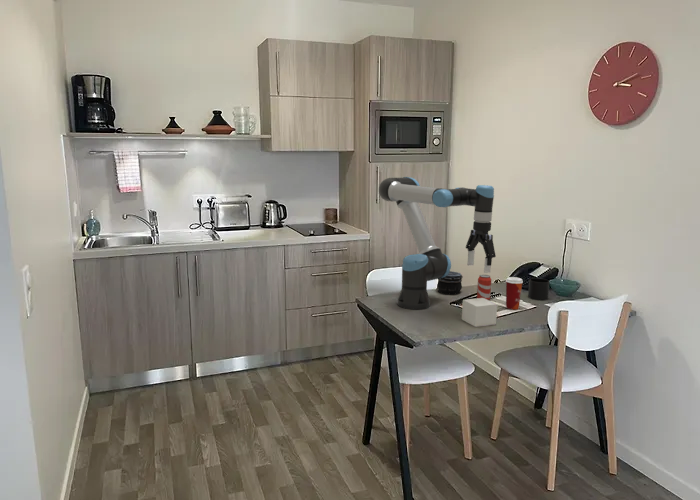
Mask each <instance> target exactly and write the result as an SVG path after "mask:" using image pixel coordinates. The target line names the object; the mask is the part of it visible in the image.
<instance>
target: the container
mask: <svg viewBox="0 0 700 500" xmlns="http://www.w3.org/2000/svg"><path fill="white" fill-rule="evenodd" d="M463 277H464V276H463V274H461V272H459V271H458V272H457V271H451V270H450V272H449V274H448V275H447V276H445V277H443V278H441V279H437V284H436V287H437V289H438V290H437V291H438V293H439V294H443V295H451V296H455V295H459V294H461V291H462V289H463V286H462V282H463Z"/></svg>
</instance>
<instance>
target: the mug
mask: <svg viewBox="0 0 700 500" xmlns="http://www.w3.org/2000/svg"><path fill="white" fill-rule="evenodd" d="M549 289H550V280H549V279H546V278H540V277H539V278H538V277H532V278H529V280H528V293H527V297H528V298H529V299H530V300H534V301H546V300H547V301H548V300H549Z"/></svg>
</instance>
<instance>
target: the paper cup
mask: <svg viewBox="0 0 700 500" xmlns="http://www.w3.org/2000/svg"><path fill="white" fill-rule="evenodd" d="M523 283H524V282H523V279H522V278H520V277H517V276H515V277H514V276H509V277H507V278H506V279H505V286H506V287H505V307H506V309H508V310H516V311H517V310H519V309H520V308H519V307H520V301H521V294H522V287H523Z"/></svg>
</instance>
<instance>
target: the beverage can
mask: <svg viewBox="0 0 700 500" xmlns="http://www.w3.org/2000/svg"><path fill="white" fill-rule="evenodd" d="M476 290H477V291H476V298H485V299H487V300H489V301H490V300H491V291H492V278H491V275H488V274H480V275H479V276H478V278H477V289H476Z"/></svg>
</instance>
